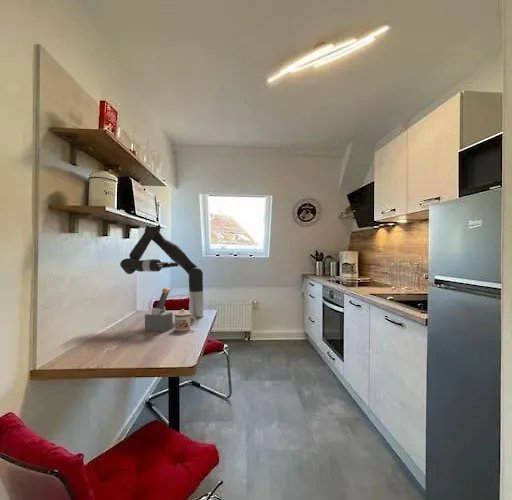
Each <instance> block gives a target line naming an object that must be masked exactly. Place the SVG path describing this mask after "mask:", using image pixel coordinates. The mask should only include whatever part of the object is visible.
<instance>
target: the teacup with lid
mask: <svg viewBox="0 0 512 500" xmlns="http://www.w3.org/2000/svg"><path fill="white" fill-rule="evenodd" d="M190 315H191V314H190V313H189V311H187V310H185V309H184V308H182V309H180V311H177V312H176V313H175V314H174V330H175V331H176V332H188V331H191V328H192V327H191V326H195V324H196V322H197V319H196V318H197V317H190ZM191 319H193V320H194V322H193V323H191Z"/></svg>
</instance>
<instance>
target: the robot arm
mask: <svg viewBox="0 0 512 500" xmlns="http://www.w3.org/2000/svg"><path fill="white" fill-rule="evenodd" d="M161 228H162V227H161V224H160V223H159V225H158V226H156V227H149V226H147V225H145V229H144V232H143V234H142V236H141V237H140V239H139V240H138V242H137V243H136V244H135V245H134V246H133V249H131V252H130V253H129V255H128V256H129V258H128V257H127V258H124V259H122V260H121V261H120V262H119V264H120V267H121V269H122V270H123V271H124V272H125V273H126V274H127V275H132V274H134V273H135V272H140V273H141V272H149V273H150V272H154V273H155V272H161V269H168V268H173V267H175V268H176V267H181V268H182V269H184V271H185V272H186V274H187V275H188V290H189V291H188V293H189V295H188V296H189V302H188V312H189V313H190V314H191V315H190V317H195V318H202V317H204V281H203V280H204V273H203V270H202V269H201V267H198V265H196V264H195V263H193V261H191V259H190V258H189V257H188V256H187V255H186V253H185V252H184V251H183V249H182V248H180V247H179V246H178V245H177V244H176V243H175V242H173V241H172V240H171V241H170V240H169V239H167V238H166V237H164V235H162V233H161ZM152 241H153V242H154V243H155V244H156V245H157V246H158V247H159V249H161V250H162V251H163V252H164V253H165V254H166V256H168V257H169V258H170V259H171V260H172V261H173V262H170V261H161V260H160V259H158V258H155V259H154V258H153V259H142V257H143V255H144V253H145V251H146V250H147V248H148V246H149V245H150V243H151V242H152Z"/></svg>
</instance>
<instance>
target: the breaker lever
mask: <svg viewBox="0 0 512 500" xmlns="http://www.w3.org/2000/svg"><path fill="white" fill-rule="evenodd" d="M161 292H162V293H161V295H160V298H159V300H158V302H157V306H156V308H159V312H161V311H163V306H164V305H165V303H166V302H167V298H168V296H169V294H170V292H171V288H169V287H164V288H162V289H161Z"/></svg>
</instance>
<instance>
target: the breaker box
mask: <svg viewBox="0 0 512 500" xmlns="http://www.w3.org/2000/svg"><path fill="white" fill-rule="evenodd" d="M173 316H174V315H173V312H172V311H171V312H168V311H166V306H163V311H161V312H159V308H157V307H152V308H151V312H148V313H146V314H144V332H160V333H161V332H163V333H164V332H167V331H169V330H171V329H173V327H174V324H173V321H174V320H173Z"/></svg>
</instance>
